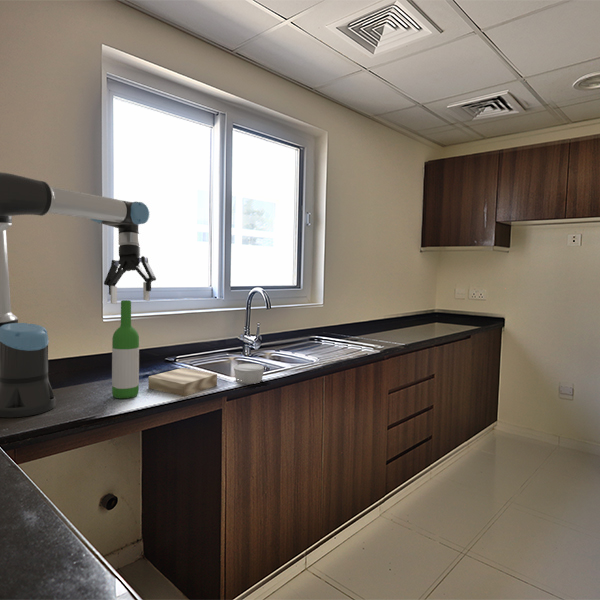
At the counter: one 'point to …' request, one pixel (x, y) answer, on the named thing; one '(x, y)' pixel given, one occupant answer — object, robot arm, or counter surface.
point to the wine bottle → (125, 356)
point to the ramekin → (249, 373)
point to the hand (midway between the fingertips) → (130, 302)
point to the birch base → (182, 381)
